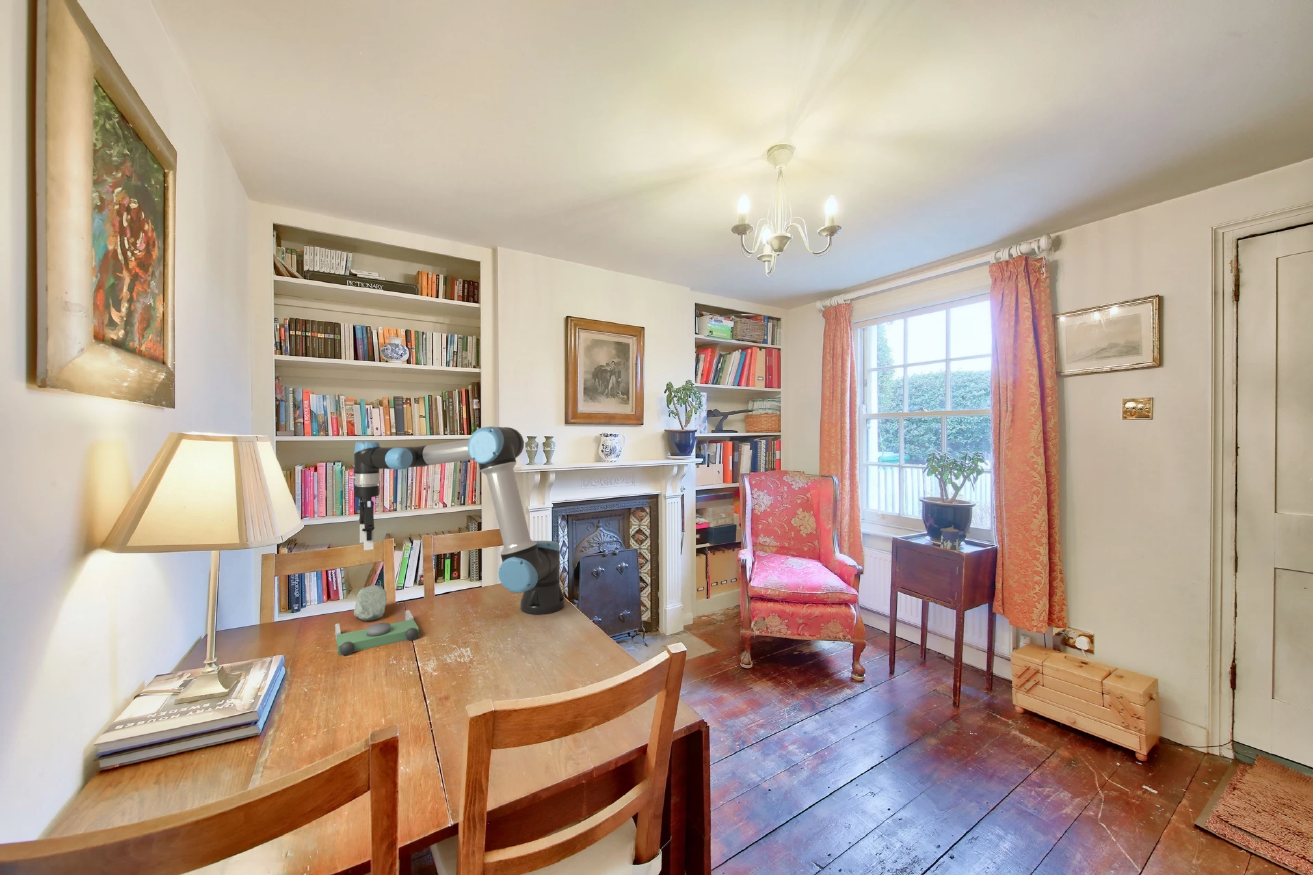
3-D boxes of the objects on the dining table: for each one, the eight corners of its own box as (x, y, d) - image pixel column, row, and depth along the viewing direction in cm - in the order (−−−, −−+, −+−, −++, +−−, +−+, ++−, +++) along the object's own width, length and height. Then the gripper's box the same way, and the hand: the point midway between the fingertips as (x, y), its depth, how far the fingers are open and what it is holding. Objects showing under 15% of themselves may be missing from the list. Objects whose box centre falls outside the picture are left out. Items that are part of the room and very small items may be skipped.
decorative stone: (359, 609, 163) (345, 592, 157) (393, 594, 166) (380, 577, 160) (361, 639, 153) (346, 622, 147) (397, 623, 157) (384, 606, 151)
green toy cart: (408, 618, 155) (408, 606, 155) (419, 638, 140) (419, 624, 140) (335, 633, 143) (335, 620, 143) (338, 657, 128) (338, 642, 128)
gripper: (350, 482, 173) (350, 540, 173) (357, 489, 153) (357, 554, 153) (374, 481, 178) (374, 537, 178) (384, 488, 158) (383, 551, 158)
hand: (366, 545), depth 166 cm, fingers open, 13 cm apart
